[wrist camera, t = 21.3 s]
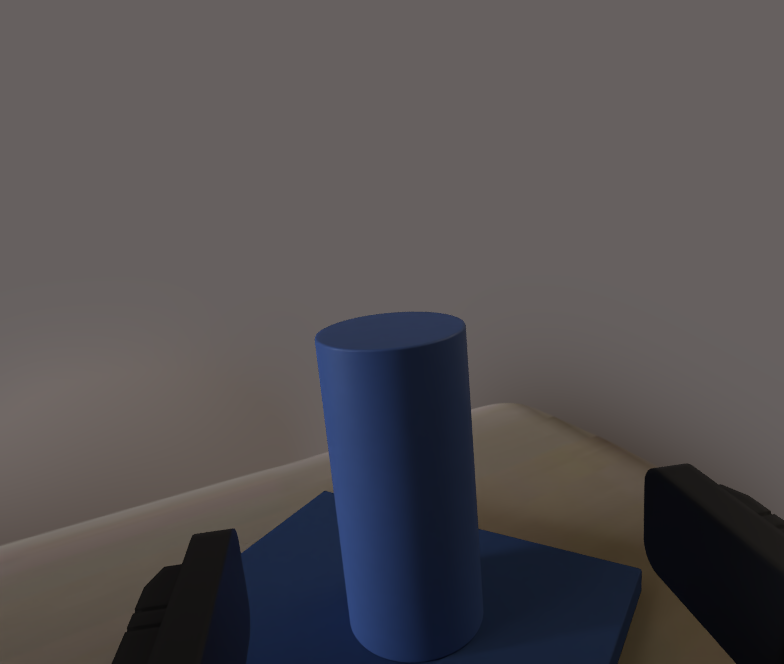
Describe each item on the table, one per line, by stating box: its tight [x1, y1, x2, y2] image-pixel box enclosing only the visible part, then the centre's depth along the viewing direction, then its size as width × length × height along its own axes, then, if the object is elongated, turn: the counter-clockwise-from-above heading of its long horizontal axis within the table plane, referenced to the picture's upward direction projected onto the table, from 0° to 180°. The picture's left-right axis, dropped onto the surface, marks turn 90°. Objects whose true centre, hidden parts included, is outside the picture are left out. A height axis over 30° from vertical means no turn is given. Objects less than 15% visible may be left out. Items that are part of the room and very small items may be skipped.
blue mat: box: [241, 491, 642, 664], centre depth 23 cm, size 16×12×1 cm
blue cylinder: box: [315, 312, 484, 662], centre depth 21 cm, size 5×5×11 cm
